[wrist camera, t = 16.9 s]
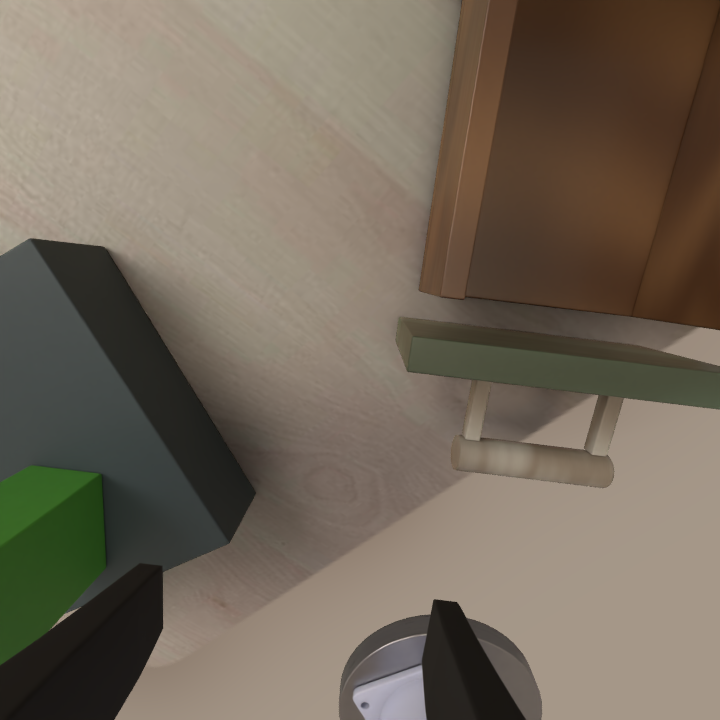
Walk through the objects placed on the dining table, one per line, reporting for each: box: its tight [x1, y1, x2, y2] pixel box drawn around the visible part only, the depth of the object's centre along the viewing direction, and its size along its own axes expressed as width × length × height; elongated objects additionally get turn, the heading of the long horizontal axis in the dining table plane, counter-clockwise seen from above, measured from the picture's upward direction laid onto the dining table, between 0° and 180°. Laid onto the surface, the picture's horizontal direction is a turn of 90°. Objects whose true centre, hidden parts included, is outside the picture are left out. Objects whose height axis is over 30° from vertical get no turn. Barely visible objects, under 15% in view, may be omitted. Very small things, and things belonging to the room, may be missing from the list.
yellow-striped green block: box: [0, 465, 106, 665], centre depth 14 cm, size 5×3×6 cm, turn 173°
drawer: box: [396, 0, 720, 488], centre depth 13 cm, size 23×11×6 cm, turn 173°
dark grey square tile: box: [0, 238, 256, 613], centre depth 18 cm, size 15×13×4 cm
